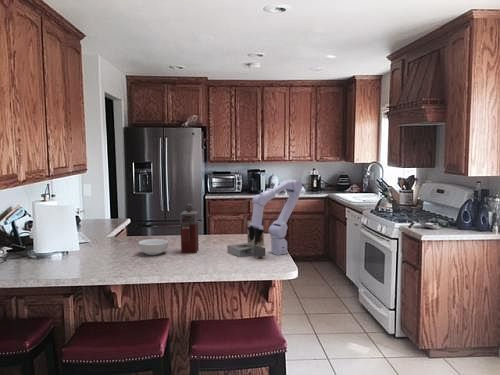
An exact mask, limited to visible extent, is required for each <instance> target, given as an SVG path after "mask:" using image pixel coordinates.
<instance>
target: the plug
mask: <svg viewBox="0 0 500 375" xmlns="http://www.w3.org/2000/svg"><path fill="white" fill-rule="evenodd" d="M253 256H254V257H255V259H259V258H261V259H264V258H265V256H266V247H265V246H258V247H255V248H254V255H253Z"/></svg>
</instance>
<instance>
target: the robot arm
mask: <svg viewBox="0 0 500 375" xmlns="http://www.w3.org/2000/svg"><path fill="white" fill-rule="evenodd" d="M302 189H303V185H302V182H301V180H299V179H290V178H287V179H285V180H283V181H282V182H281V183H279V184H278V185H276V186H275V187H273V188H268V187H267V188H266V189H265V190H264V191H263V192H260V193H259V194H255V195H254V196H253V198H252V199H251V201H252V206H253V208H252V216H251V220H252V222H251V223H250V224H249V226H250V227H248V226H247V232H248V231H249V239H250V240H254V236H255V242H259V240H260V238H261V235H262V234H263V232H265V230H263V226H262V219H263V217H264V209H265V206H266V205H267V203H268V202H269V201H270V200H272V199H274V198H275V197H276V195H277V194H279V193H280V192H283V191H285V192H286V194H288V198H287V200H286V202H285V204H284V205H283V208H282V209H281V212H280V214H279V215H278V218H277V219H276V220H274V221H273V222H272V223H271V225H270V226H269V227H268V231H267V232H268V234H269V235H270V242H271V243H270V247H271V248H270V249H271V250H268V253H270V254H272V255H273V254H274V255H275V256H279V255H285V254H289V252H288V241H287V240H286V238H285V236H286V235H287V230H288V228H289V227H288V224H287V223H288V220H289V218H290V217H291V215H292V212H293V211H294V209H295V207H296V205H297V203H298V201H299V199H300V193H301V191H302ZM255 226H256V227H255Z"/></svg>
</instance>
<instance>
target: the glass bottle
mask: <svg viewBox="0 0 500 375" xmlns="http://www.w3.org/2000/svg"><path fill="white" fill-rule="evenodd" d="M184 209H185V210H184V211H182V212H181V213H180V214H179V215H180V217H179V218H180V220H179V221H180V252H181V254H197V253H198V252H197V251H199V247H200V246H199V212H198V211H196V210H193V209H194V207H193V205H192V204H191V203H187V204H186V205H185V208H184Z"/></svg>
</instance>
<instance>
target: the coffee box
mask: <svg viewBox="0 0 500 375" xmlns="http://www.w3.org/2000/svg"><path fill="white" fill-rule="evenodd" d="M264 221H265V220H264V219H263V218H262V226H263V230H264V229H265V228H264V224H265V223H264ZM251 222H252V219H249V220H247V227H250V226H249V224H250V223H251ZM255 227H256V226H255ZM264 232H265V230H264ZM264 232H263V234H262V235H261V238H260V240H259V242H255V236H254V240H250V239H249V231H248V230H247V243H248V244H251V245H254V246H258V247H261V246H264V245H265V243H264V242H265V240H264V237H265V236H264ZM263 244H264V245H263ZM260 245H261V246H260Z"/></svg>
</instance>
